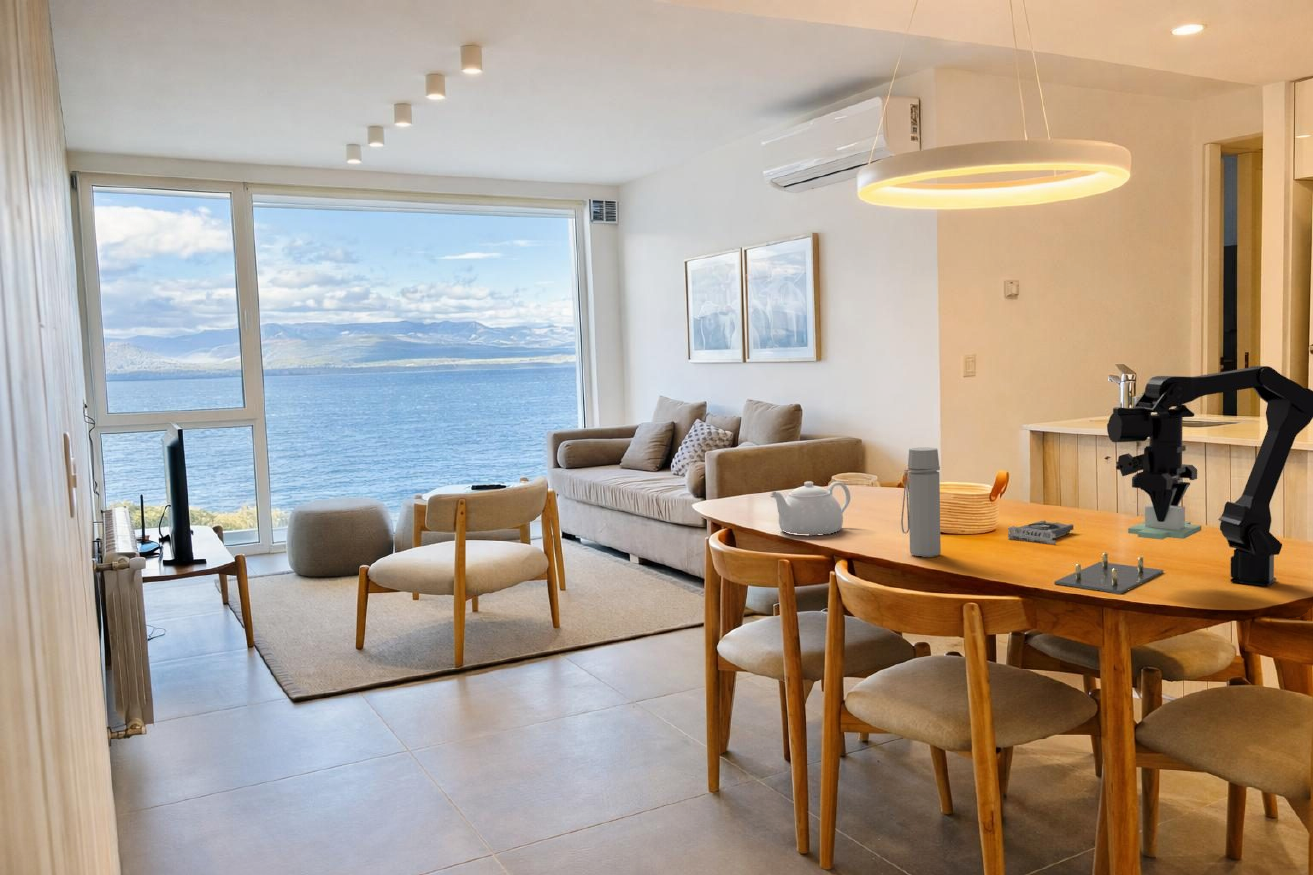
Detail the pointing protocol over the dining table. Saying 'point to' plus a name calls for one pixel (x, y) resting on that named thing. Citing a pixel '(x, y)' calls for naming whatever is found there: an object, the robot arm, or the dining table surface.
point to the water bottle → (923, 502)
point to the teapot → (811, 509)
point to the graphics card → (1039, 532)
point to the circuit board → (1164, 531)
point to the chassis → (1109, 576)
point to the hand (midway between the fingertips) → (1164, 520)
